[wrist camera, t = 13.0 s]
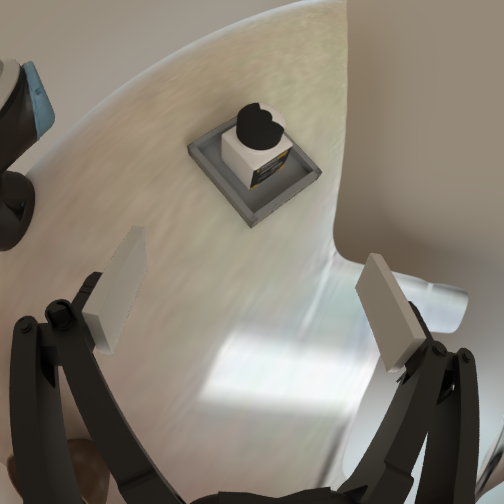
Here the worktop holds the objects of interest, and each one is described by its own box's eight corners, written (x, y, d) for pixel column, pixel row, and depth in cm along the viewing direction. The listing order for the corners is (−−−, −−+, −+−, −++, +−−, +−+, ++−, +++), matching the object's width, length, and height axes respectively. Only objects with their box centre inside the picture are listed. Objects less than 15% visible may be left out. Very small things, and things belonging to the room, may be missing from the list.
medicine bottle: (249, 191, 42) (259, 150, 30) (220, 159, 42) (220, 112, 30) (284, 167, 43) (303, 123, 31) (255, 137, 44) (264, 88, 32)
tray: (188, 153, 43) (186, 145, 40) (255, 114, 45) (256, 105, 43) (251, 228, 41) (252, 223, 39) (317, 178, 44) (322, 171, 41)
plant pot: (55, 463, 29) (12, 498, 14) (57, 403, 32) (1, 432, 17) (125, 498, 30) (98, 550, 14) (135, 442, 33) (99, 495, 17)
